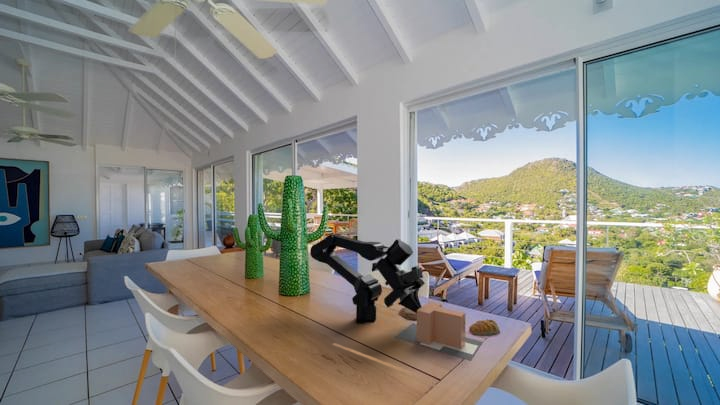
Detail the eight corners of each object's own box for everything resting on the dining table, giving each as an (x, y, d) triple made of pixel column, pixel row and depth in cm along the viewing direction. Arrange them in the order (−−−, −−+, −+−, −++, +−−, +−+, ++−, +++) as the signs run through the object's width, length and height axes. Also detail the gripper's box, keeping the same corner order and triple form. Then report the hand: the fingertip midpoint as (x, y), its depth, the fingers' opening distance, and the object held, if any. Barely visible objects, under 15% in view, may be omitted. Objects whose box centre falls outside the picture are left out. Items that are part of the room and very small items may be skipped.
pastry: (479, 340, 88) (479, 327, 88) (463, 331, 94) (463, 319, 95) (501, 335, 92) (501, 323, 92) (485, 327, 98) (485, 315, 98)
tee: (416, 341, 85) (416, 310, 85) (429, 329, 93) (429, 301, 93) (457, 353, 78) (458, 319, 78) (468, 339, 86) (468, 309, 87)
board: (394, 338, 88) (394, 336, 88) (412, 324, 98) (412, 323, 98) (471, 363, 75) (471, 360, 75) (482, 343, 85) (483, 341, 85)
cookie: (408, 324, 99) (409, 315, 99) (394, 313, 109) (394, 305, 109) (433, 320, 103) (433, 312, 103) (416, 310, 113) (416, 302, 113)
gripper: (393, 263, 85) (428, 308, 79) (419, 254, 100) (451, 292, 94) (370, 285, 90) (402, 330, 83) (399, 274, 105) (427, 311, 98)
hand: (422, 314), depth 90 cm, fingers closed
